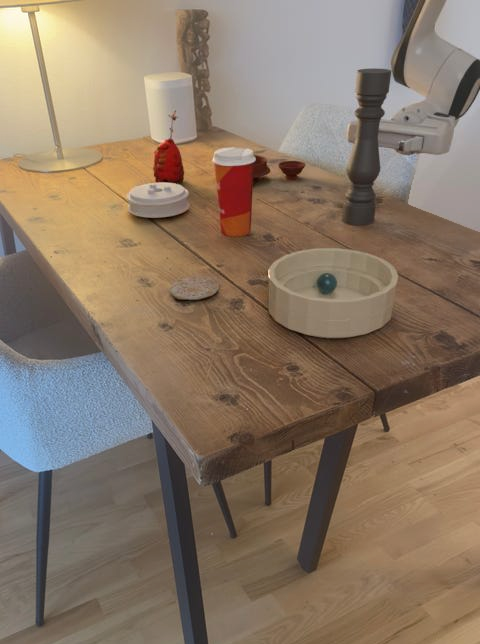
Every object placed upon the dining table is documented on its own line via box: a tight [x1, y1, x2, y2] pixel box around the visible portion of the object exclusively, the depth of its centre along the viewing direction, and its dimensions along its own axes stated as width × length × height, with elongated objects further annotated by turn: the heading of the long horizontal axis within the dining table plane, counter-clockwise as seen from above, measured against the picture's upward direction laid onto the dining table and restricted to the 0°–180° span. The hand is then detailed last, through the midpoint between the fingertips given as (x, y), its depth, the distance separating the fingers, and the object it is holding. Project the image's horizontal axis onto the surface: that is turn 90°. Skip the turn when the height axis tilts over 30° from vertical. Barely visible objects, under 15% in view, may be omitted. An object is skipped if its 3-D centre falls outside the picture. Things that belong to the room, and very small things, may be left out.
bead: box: [317, 273, 337, 294], centre depth 83 cm, size 3×3×3 cm
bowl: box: [267, 247, 399, 339], centre depth 80 cm, size 18×18×6 cm
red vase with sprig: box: [152, 110, 185, 184], centre depth 129 cm, size 8×7×15 cm
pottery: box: [253, 154, 307, 183], centre depth 132 cm, size 12×20×4 cm, turn 94°
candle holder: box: [341, 67, 392, 226], centre depth 103 cm, size 6×6×25 cm
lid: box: [125, 182, 191, 219], centre depth 115 cm, size 13×13×5 cm
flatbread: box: [169, 275, 220, 301], centre depth 87 cm, size 8×8×1 cm
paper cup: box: [211, 146, 256, 237], centre depth 103 cm, size 8×8×14 cm
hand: (379, 143), depth 106 cm, fingers open, 8 cm apart
